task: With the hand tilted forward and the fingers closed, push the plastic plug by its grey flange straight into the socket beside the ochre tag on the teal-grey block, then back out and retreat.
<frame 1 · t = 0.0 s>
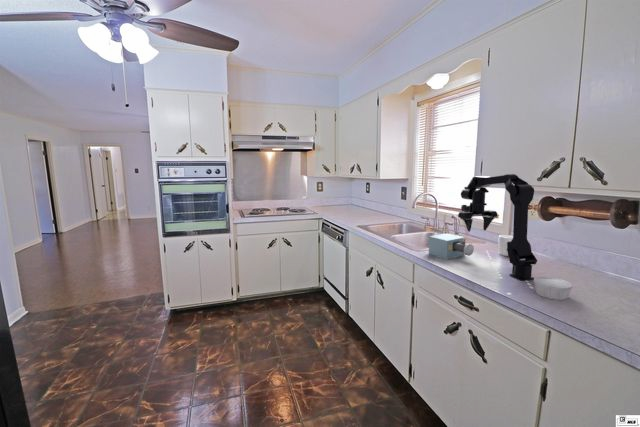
hand: (476, 230, 151), 15 cm above the worktop, tool pointing down, fingers open, 9 cm apart
plug: (457, 246, 154), point 6 cm above the worktop, slide at 0.0 cm
ramekin: (551, 295, 109), on the worktop
white cup: (505, 254, 159), on the worktop
socket block: (446, 254, 161), on the worktop
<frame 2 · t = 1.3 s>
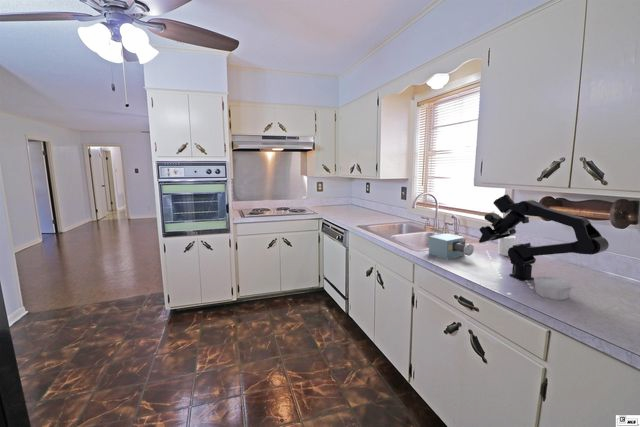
hand: (485, 241, 140), 12 cm above the worktop, tool tilted 45°, fingers open, 8 cm apart
nothing on the worktop moved.
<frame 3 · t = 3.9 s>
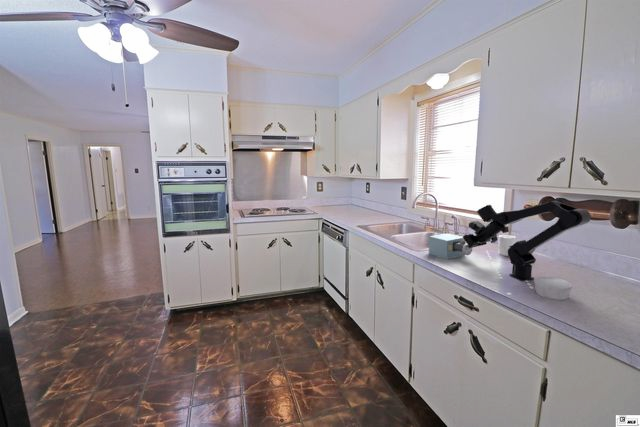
hand: (469, 247, 148), 7 cm above the worktop, tool tilted 45°, fingers closed, pressing on plug
plug: (456, 246, 155), point 6 cm above the worktop, slide at 0.8 cm, touching gripper
everything else where it was.
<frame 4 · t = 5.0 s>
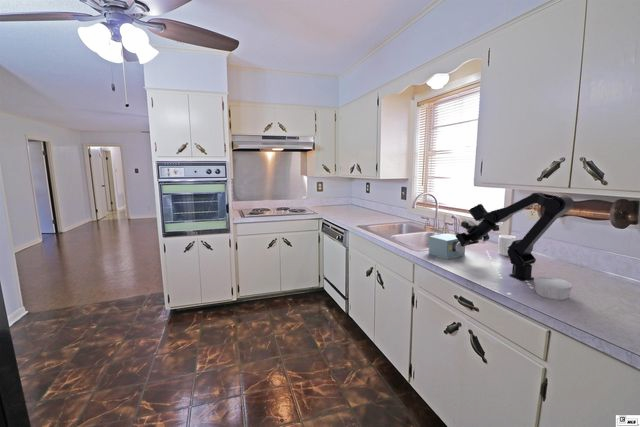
hand: (461, 245, 152), 7 cm above the worktop, tool tilted 45°, fingers closed
plug: (449, 244, 158), point 6 cm above the worktop, slide at 5.0 cm
everything else where it was.
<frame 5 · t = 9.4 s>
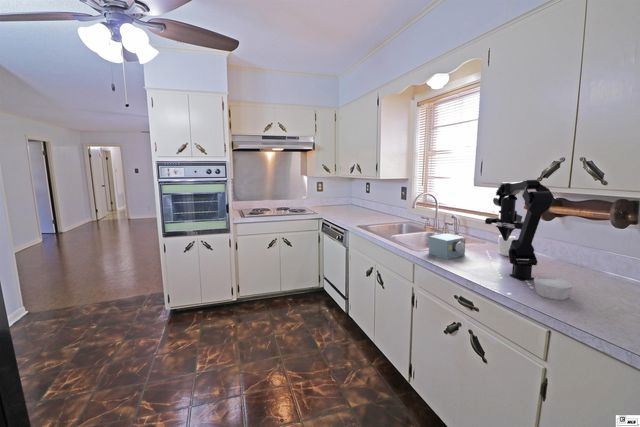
hand: (505, 240, 141), 12 cm above the worktop, tool pointing down, fingers closed
nothing on the worktop moved.
at the end: plug slide at 5.0 cm; the gripper is holding nothing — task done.
